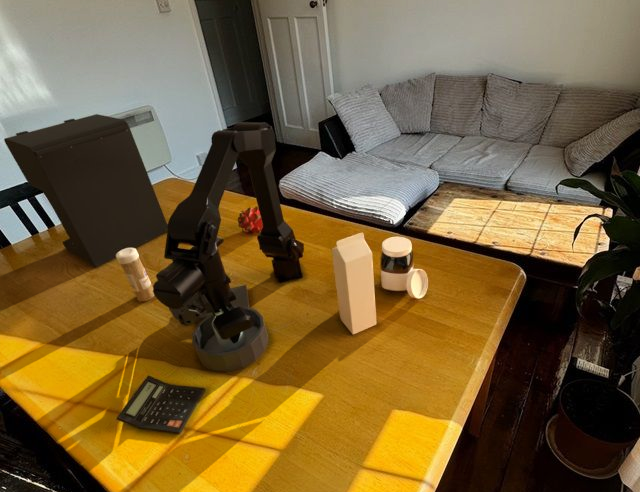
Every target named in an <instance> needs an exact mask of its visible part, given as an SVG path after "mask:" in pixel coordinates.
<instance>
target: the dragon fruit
mask: <svg viewBox="0 0 640 492" xmlns="http://www.w3.org/2000/svg"><path fill="white" fill-rule="evenodd" d="M237 223H238V227H239V228H241V232H242V233H250V234H253V233H254V232H256V233H258V234H259V233H260V232H261V230H262V227H263V223H262V219H261V215H260V212H259V208H258V205H257V206H255V207H254V208H252V206H250V207H247V208H246V210H245V209H242V210H241V212H240V213H239V215H238V217H237Z"/></svg>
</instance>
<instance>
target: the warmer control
mask: <svg viewBox="0 0 640 492" xmlns="http://www.w3.org/2000/svg"><path fill="white" fill-rule="evenodd" d="M230 289H231V292H233V293H234V294H235V296H236V300H234V301H232V302H230V303H231V304H232V305H233V306H239V307H249V308H251V307H250V301H249V300H250V299H249V289H248V287H247V284H242V285H237V286H234V287H230ZM210 314H213V313H212V312H211V313H208V314H207V313H206V311H205V309H204V311H203V313H202V314H201V318H200V319H199V320H197V321H196V322H195V324H196V326H198V324H199V323H200V322H201V321H203V320H204V319H205V318H206V317H207V316H209V315H210Z"/></svg>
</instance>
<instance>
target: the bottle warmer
mask: <svg viewBox="0 0 640 492" xmlns="http://www.w3.org/2000/svg"><path fill="white" fill-rule="evenodd" d="M234 307H238V306H234ZM249 307H250V306H249ZM249 307H243V308H245V310H246V311H247V312H248V313H249V315H250V316H251V317H252V321H253V326H252V327H251V328H249V329H247V330H245V331H244V334H245V338H246V340H245V342H244V344H243V345H242V346H241V347H240V348H238V349H236V350H232V351H225V350H223V349H221V347H220V345H219V343H218V340H217V337H216V335H215V332H214V329H213V327H212V321H213V319H214V317H215V316H214V315H213V314H210V315H209V316H207V317H206V318H205V319H204V320H203V321H201V322H200V323H199V324H198V325H196V327H195V328H194V330H193V332H192V339H191V340H192V342H191V343H192V346H193V348H194V350H195V353H196V355H197V357H198V359H199V361H200V363H201V364H202V365H203V367H204V368H206V369H208V370H210V371H213V372H216V373H217V372H218V373H229V372H230V373H231V372H234V371H238V370H241V369H242V370H243V369H244V368H246V367H247V366H250V365H251V364H253V363H254V362H256V361H258V359H259V358H260V357H261V356H262V355H263V354H264V353H265V352H266V349H267V346H268V344H269V334H268V330H267V325H266V323H265V320H264V317H263V315H262V314H261V313H260V312H259V311H258V310H257V309H255V308H251V307H250V308H249Z"/></svg>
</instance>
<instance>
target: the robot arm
mask: <svg viewBox="0 0 640 492" xmlns="http://www.w3.org/2000/svg"><path fill="white" fill-rule="evenodd" d="M210 141H211V144H210V147H209V150H208V152H207V154H206V157H205V159H204V162H203V163H202V166H201V168H200V171H199V174H198V175H197V178H196V181H195V183H194V186H193V188H192V190H191V192H190V194H189V195H188V196H187V197H186V198H184V200H182V201H180V203H178V204H177V205H176V208H175V209H174V211H173V212H172V214H171V215H170V217H169V219H168V222H167V225H168V226H167V229H168V230H167V232H166V240H165V246H164V253H163V254H164V255H163V257H164V259H166V260H172V261H171V263H170V264H169V265H167V266H166V267H165V268H163V269H161V270H160V271H159V272H158V273H156V274H155V277H156V281H155V282H154V283H153V284H152V287H153V293H154V295H155V296H154V298H156V299H157V301H158V302H159V303H161V304H162V305H164V306H165V307H167V308H168V309H169V311H170V313H171V315H172V317H174V319H176V321H178V322H179V324H180V325H181V326H185V327H187V326H192V325H194V324H196V321H197V320H199V319H200V318H201V314H202V313H203V311H204V309H205V311H206V313H207V314H208V313H211V312H212V313H213V315H214V316H215V314H218V313H220V310H221V312H222V313H223V314H221V315H218V316H216V318H215V320H214V321H213V324H214V325H213V326H214V328H215V329H216V331H217V332H218V334H219V336H220V337H221V339H223V340H226V339H229V338H230V340H231V341H232V343H233V344H234V343H236V342H238V341H239V337H240V334H241V332H243V331H245V330H247V329H249V328H251V327H252V326H253V321H252V317H251V316H250V315H249V313H248V312H247V311H246V310H245V308H243V307H239V306H238V307H234V306H233V305H232V304H231V303H230V302H232V301H234V300H236V296H235V294H234V293H233V292H231V289H230V288H231V285H230V284H232V281H231V278H230V277H229V275H228V274H227V273H226V270H225V267H224V263H223V261H222V257H221V255H220V251H219V247H220V246H221V245H222V244H223V243H224V242H225V240H224V238H223V237H219V235H218V234H219V231H220V227H221V223H222V217H221V213H220V204H221V201H222V199H223V196H224V194H225V191H226V189H227V185H228V183H229V180H230V177H231V175H232V173H233V170H234V167H235V165H236V163H237V160H238V158H239V160H240V161H241V162H242V163H243V164H244V165H245V166H246V167H247V169H248V173H249V176H250V181H251V185H252V187H253V192H254V195H255V200H256V204H257V206H258V208H259V212H260V215H261V219H262V223H263V227H262V230H261V232H259V233H258V235H257V237H256V239H257V242H258V245H259V251H261V252H262V254H264V256H265V257H266V258H271V266H272V269H273V273H274V274H273V275H274V278H275V279H277V282H278V284H283V283H286V282H292V281H295V280H296V281H297V280H301V279H303V278H304V274H303V271H302V267H301V262H300V259H302V258H303V257H304V254H303V253H304V252H305V244H304V242H301V241H300V240H298V239H296V235H295V233H294V229H293V228H292V227H291V226H290V225H289V224H288V223H287V222H286V221H285V219H284V216H283V211H282V210H283V209H282V206H281V201H280V197H279V191H278V188H277V183H276V178H275V173H274V170H273V166H272V165H273V164H272V161H273V158H274V155H275V153H276V151H277V148H276V147H277V146H276V133H275V131H274V129H273V127H272V126H271V125H270V124H268V123H267V122H259V121H258V122H256V121H255V122H253V121H252V122H251V121H237V122H236V123H235V124H234V126H233V127H228V128H223V129H222V130H220V129H219V130H216V131H214V132H213V133H212V135H211V140H210ZM180 245H183V246H190V247H191V246H192V247H191V248H183V247H179V246H180ZM226 306H227V307H226ZM219 309H220V310H219Z"/></svg>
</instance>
